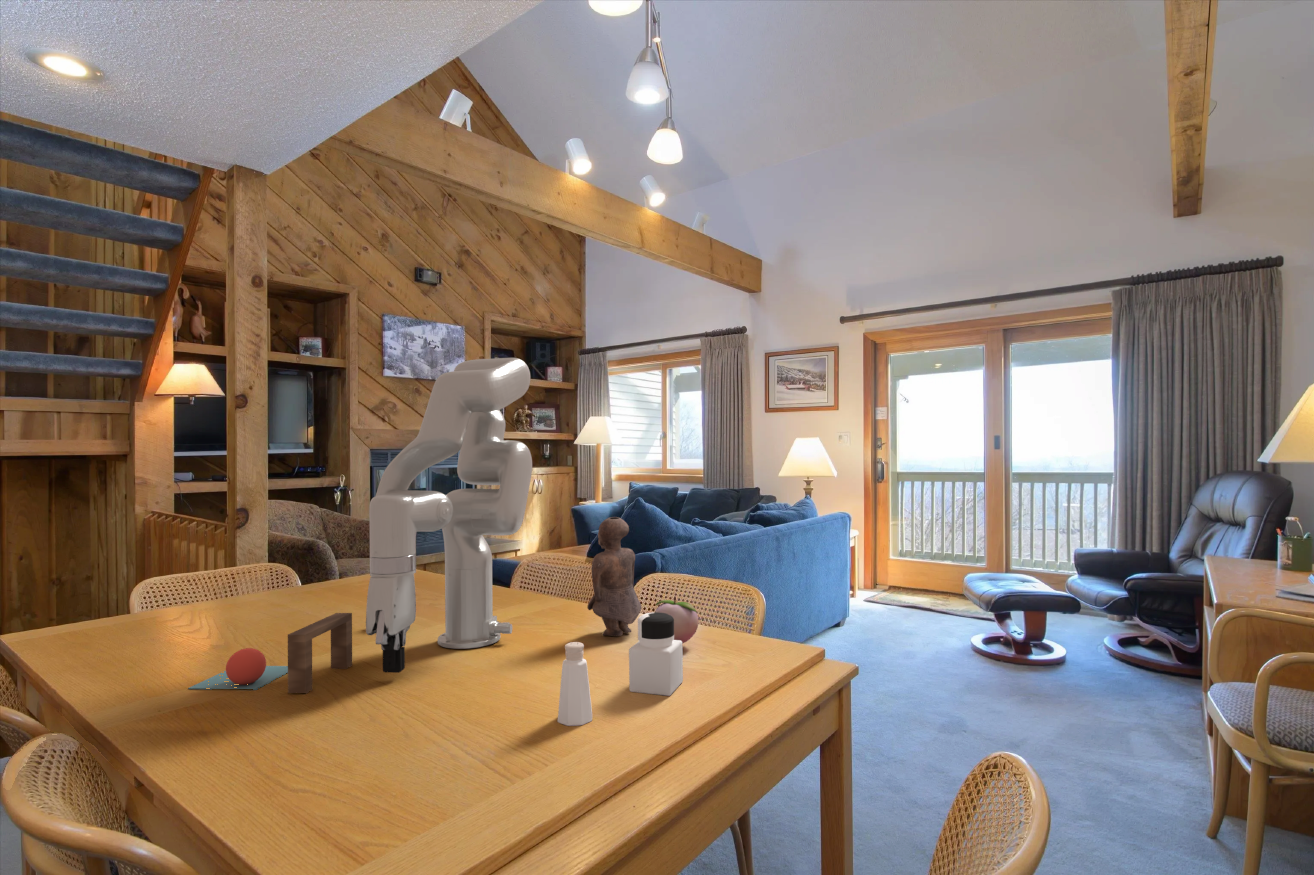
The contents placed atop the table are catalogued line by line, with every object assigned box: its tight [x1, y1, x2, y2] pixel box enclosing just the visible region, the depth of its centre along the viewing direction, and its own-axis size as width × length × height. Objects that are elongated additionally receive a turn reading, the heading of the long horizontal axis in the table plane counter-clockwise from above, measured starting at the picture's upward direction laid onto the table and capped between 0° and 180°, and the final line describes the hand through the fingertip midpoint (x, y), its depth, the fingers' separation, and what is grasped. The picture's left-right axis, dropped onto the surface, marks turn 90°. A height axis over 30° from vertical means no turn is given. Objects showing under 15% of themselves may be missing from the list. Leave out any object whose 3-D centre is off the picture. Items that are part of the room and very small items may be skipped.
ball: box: [225, 647, 267, 685], centre depth 119 cm, size 6×6×6 cm
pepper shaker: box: [557, 641, 593, 727], centre depth 102 cm, size 5×5×11 cm
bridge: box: [287, 612, 353, 694], centre depth 121 cm, size 3×15×10 cm, turn 176°
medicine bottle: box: [628, 611, 684, 697], centre depth 115 cm, size 7×7×12 cm
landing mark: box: [187, 665, 288, 691], centre depth 122 cm, size 12×12×1 cm
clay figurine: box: [587, 516, 642, 637], centre depth 148 cm, size 13×10×25 cm
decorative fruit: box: [654, 596, 699, 645], centre depth 138 cm, size 9×8×10 cm
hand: (393, 670), depth 120 cm, fingers closed
